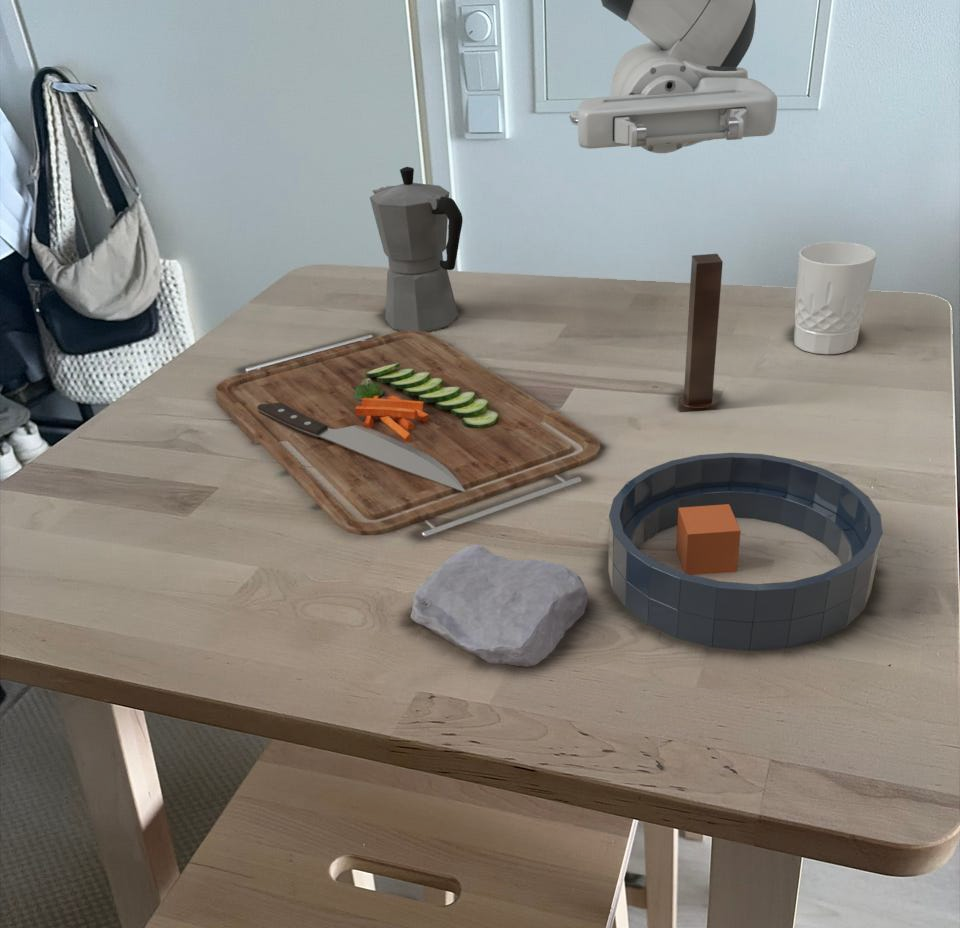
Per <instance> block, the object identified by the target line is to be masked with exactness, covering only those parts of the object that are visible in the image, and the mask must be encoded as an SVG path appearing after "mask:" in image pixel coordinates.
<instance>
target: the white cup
mask: <svg viewBox="0 0 960 928" xmlns="http://www.w3.org/2000/svg"><path fill="white" fill-rule="evenodd" d="M877 254H878V253H877V251H876V250H875V249H873V248H872V247H871V246H868V245H865V244H861V243H856V242H851V241H822V242H815V243H811V244H808V245H805V246H803V247H802V248H801V249H800V250H799V251H798V259H797V260H798V261H797V262H798V264H797V275H796V287H795V298H794V299H795V300H794V301H795V303H794V331H793V342H794V346H795V347H797V348H798V349H800V350H801V351H805V352H807V353H811V354H815V355H816V354H818V355H837V354H843V353H846V352H850V351H852V350H853V349H854V348H855V347H856V346H857V344H858V339H859V335H860V330H861V323H862V322H863V318H864V315H865V309H866V305H867V302H868V298H869V293H870V288H871V282H872V278H873V274H874V268H875V265H876V259H877Z"/></svg>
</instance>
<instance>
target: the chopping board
mask: <svg viewBox="0 0 960 928" xmlns="http://www.w3.org/2000/svg"><path fill="white" fill-rule="evenodd" d="M214 394H215V398H216V402H217V404H218V406H219V407H220V408H221V409H222V410H223V412H225V414H226V415H227V416H228V417H229V418H230V419H231V421H233V423H235V424H236V426H237V427H238V428H239V429H241V430H242V431H243V433H244V434H245V435H246V436H247V437H248V438H249V439H250V440H251V442H253V443H254V444H259V445H260V446H262V447H263V448H264V449H265V450H266V451H267V452H268V453H269V454H270V455H271V456H272V457H273V458H274V460H275V461H276V462H277V463H278V464H279V465H280V466H281V467H282V469H284V470H285V471H286V472H287V473H288V474H289V475H290V476H291V478H292V479H293V480H294V481H295V482H296V483H297V484H298V485H299V486H300V487H301V488H302V489H303V490H304V491H305V492H306V494H307V495H309V497H310V498H312V499H313V501H314V502H315V503H316V504H317V505H318V506H319V507H320V508H321V509H322V510H323V511H324V512H325V514H327V515H328V517H330V519H332V520H333V522H334V523H335V524H336V525H337V526H338V527H339V528H341V529H342V530H343V531H346V532H347V533H350V534H354V535H358V536H377V535H381V534H387V533H391V532H394V531H396V530H400V529H403V528H405V527H408V526H411V525H414V524H416V523H420V522H424V523H425V524H427V526H428V527H429V528H430V529H427V530H424V531H422V532H421V535H422V536H424V538H425V537H428V536H431V535H434V534H436V533H440V532H442V531H446V530H448V529H451V528H453V527H456V526H460V525H462V524H465V523H468V522H471V521H473V520H476V519H478V518H482V517H485V516H488V515H491V514H493V513H495V512H498V511H501V510H504V509H507V508H509V507H512V506H515V505H518V504H521V503H524V502H527V501H529V500H532V499H536V498H538V497H540V496H543V495H546V494H549V493H552V492H554V491H558V490H561V489H563V488H567V487H570V486H572V485H575V484H577V483H580V482H582V478H581V477H580V476H576V477H574V478H571V479H568V480H566V479H565V478H563V477H562V476H560V475H559V474H560V473H563V472H565V471H568V470H572V469H575V468H577V467H580V466H583V465H586V464H588V463H590V462H592V461H594V460H595V459H597V457H599V455H600V454H601V441H600V440H599V439H598V438H597V437H596V436H595V435H594V434H593V433H591V432H589V431H587V430H586V429H584V428H582V427H581V426H580V425H578V424H576V423H574V422H573V421H571V420H570V419H568V418H567V417H565V416H563V415H562V414H560V413H558V412H557V411H555V410H554V409H552V408H550V407H549V406H547V405H546V404H544V403H542V402H541V401H539V400H538V399H536V398H534V397H533V396H531V395H530V394H528V393H526V392H525V391H524V390H521V389H520V388H518V387H517V386H515V385H514V384H512V383H510V382H509V381H508V380H505V378H502V377H501V376H499V375H498V374H496V373H494V372H493V371H492V370H490V369H488V368H487V367H485V366H484V365H481V364H480V363H479V362H477V361H475V360H473V359H472V358H471V357H469V356H467V355H466V354H464V353H462V352H461V351H459V350H458V349H457V348H454V347H453V346H451V345H450V344H448V343H446V342H445V341H444V340H442V339H440V338H438V337H437V336H435V335H434V334H432V333H430V332H425V331H417V330H409V331H396V332H392V333H388V334H383V335H380V336H376V337H374V336H373V334H367V335H364V336H360V337H356V338H352V339H348V340H345V341H342V342H338V343H333V344H330V345H326V346H322V347H319V348H315V349H312V350H311V349H310V350H308V351H304V352H301V353H296V354H294V355H293V354H292V355H290V356H289V355H288V356H286V357H283V358H278V359H275V360H271V361H267V362H264V363H260V364H259V363H258V364H256V365H252V366H248V367H245V373H241V374H238V375H237V374H236V375H234V376H230V377H228V378H226V379H223V380H222V381H220V382H219V383H217V385H216V387H214ZM542 423H545V424H547V425H548V426H550V427H551V428H553V429H554V430H556V431H557V432H559V433H561V434H563V435H564V436H565V437H567V438H568V439H570V440H571V441H573V442H575V443H576V444H578V445H579V446H580V447H581V448H582V451H579V452H578V453H576V454H573V453H575V452H576V449H575V448H574V446H573V444H572V443H571V442H570V441H568V440H566V439H565V438H563V437H562V436H560V435H559V434H557V433H556V432H554V431H552V429H550V428H548V427H547V426H545V425H544V424H542ZM281 442H287V443H289V445H291V446H292V447H293V448H294V449H295V450H296V451H297V452H298V453H299V454H300V456H302V457H303V458H304V459H305V460H306V461H307V462H308V463H309V464H310V466H312V467H313V468H314V469H315V470H316V471H317V472H318V473H319V474H320V475H321V476H322V477H323V478H324V479H325V480H326V481H328V483H329V484H330V485H331V486H332V487H333V488H334V489H335V490H336V491H337V492H338V493H339V494H340V495H341V496H342V497H343V498H344V499H345V500H346V501H347V502H348V503H349V504H350V505H352V507H353V508H354V509H355V510H356V511H357V512H358V513H360V515H361V516H362V517H363V518H365V519H367V520H368V521H369V522H368V521H367V522H366V521H361V520H358V519H356V518H355V517H353V516H352V515H351V514H350V513H349V512H348V511H347V510H346V508H344V507H343V506H342V505H341V504H340V502H339V501H338V500H336V498H334V497H333V495H332V494H330V492H329V491H328V490H327V489H326V488H324V487H323V486H322V484H321V483H320V482H319V481H318V480H317V479H316V478H315V477H313V475H312V474H311V473H310V472H309V471H308V470H307V469H306V468H305V467H304V466H303V465H302V464H301V463H300V462H299V461H298V460H297V459H296V458H295V457H294V456H293V455H292V454H291V453H290V452H289V451H288V449H286V448H285V447H284V446H283V445H282V444H281ZM540 465H541V466H540ZM531 468H532V469H531ZM528 469H529V470H528ZM508 476H509V477H508ZM551 476H553V477H554V478H556V479H557V480H559V481H560V483H556V484H554V485H551V486H548V487H546V488H542V489H538V490H537V491H534V492H531V493H529V494H526V495H522V496H520V497H517V498H514V499H511V500H508V501H506V502H503V503H500V504H497V505H494V506H491V507H489V508H486V509H483V510H481V511H478V512H474V513H472V514H468V515H466V516H463V517H461V518H457V519H455V520H452V521H450V522H446V523H444V524H441V525H438V526H436V525H435V524H433V523H432V522H431V521H430V520H429V519H431V518H434V517H437V516H440V515H443V514H445V513H449V512H451V511H454V510H457V509H459V508H462V507H465V506H468V505H471V504H474V503H477V502H479V501H483V500H485V499H488V498H491V497H494V496H497V495H500V494H503V493H505V492H509V491H511V490H515V489H517V488H521V487H523V486H525V485H529V484H532V483H535V482H537V481H541V480H544V479H546V478H548V477H551ZM501 478H502V479H501ZM499 479H500V480H499ZM496 480H497V481H496ZM493 481H494V482H493ZM490 482H491V483H490ZM487 483H488V484H487ZM484 484H485V485H484ZM481 485H482V486H481ZM472 488H474V489H472ZM461 492H462V493H461ZM458 493H460V494H458ZM455 494H456V495H455ZM452 495H453V496H452ZM449 496H450V497H449ZM446 497H448V498H446ZM443 498H445V499H443ZM437 500H439V501H437ZM434 501H436V502H434ZM428 503H429V504H428ZM426 504H427V505H426ZM422 505H424V506H422ZM420 506H421V507H420ZM417 507H418V508H417ZM414 508H416V509H414ZM411 509H412V510H411ZM408 510H410V511H408ZM405 511H407V512H405ZM402 512H404V513H402ZM399 513H401V514H399ZM396 514H398V515H396ZM393 515H396V516H393ZM390 516H392V517H390ZM387 517H389V518H387ZM384 518H385V519H384ZM386 518H387V519H386ZM381 519H383V520H381ZM376 520H377V521H376ZM378 520H379V521H378Z"/></svg>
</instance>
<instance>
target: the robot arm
mask: <svg viewBox="0 0 960 928" xmlns="http://www.w3.org/2000/svg"><path fill="white" fill-rule="evenodd" d="M600 2H601V5H602V7H604V8H605V9H606V10H608V11H610V12H611V13H613V14H614V15H615V16H617V17H618V18H620V19H621V20H623V21H624V22H628V23H629V24H631V25H632V26H633V27H634V28H635V29H637V30H638V31H639V32H640V33H641V34H642V35H644V36H645V37H646V38H647V39H648V40H650V42H647V43H644V44H643V43H642V44H638V45H636V46H634V47H632V48H631V49H629V50H628V51H626V52H625V53H624V54H623V55H622V56H621V58H620V59H619V60H618V62H617V64H616V66H615V68H614V70H613V73H612V77H611V82H610V95H609V96H599V97H590V98H585V99H583V100H582V101H580V102H579V104H578V107H577V110H574V111H571V112H570V114H569V121H570V122H571V124H572V125H573V126H577V143H578V146H579V147H580V148H584V149H602V148H603V149H605V148H617V147H630V148H639V147H641V148H642V149H644V150H646V151H647V152H650V153H654V154H669V153H673V152H676V151H678V150H680V149H682V148H685V147H690V146H691V147H692V146H694V145H696V144H699V143H702V142H705V141H707V142H708V141H713V140H726V141H734V140H735V141H736V140H742V139H743V138H751V137H766V136H769V135H772V134H773V133H774V131H775V127H776V124H777V123H776V122H777V115H778V113H777V112H778V97H777V94H776V93H775V92H774V91H773V90H772V89H770V87H768V86H767V85H765V84H763V83H762V82H760V81H759V80H757V79H753V78H749V73H748V70H747V69H746V68H743V67H739V65H740V63H741V62H742V60H743V59H744V57H745V55H746V54H747V52H748V50H749V49H750V46H751V43H752V41H753V38H754V35H755V28H756V27H755V26H756V14H757V6H756V4H757V3H756V0H600Z"/></svg>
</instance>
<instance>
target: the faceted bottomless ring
mask: <svg viewBox="0 0 960 928" xmlns="http://www.w3.org/2000/svg"><path fill="white" fill-rule="evenodd" d="M724 504H729V505H730V507H731V510H732V512H733V514H734V516H735V519H749V520H750V519H751V520H758V521H763V522H768V523H773V524H778V525H782V526H784V527H788V528H790V529H792V530H796V531H799V532H801V533H804V534H805V535H807V536H809V537H811V538H812V539H814V540H816V541H817V542H818V543H821V544H822V545H824V546H825V547H826V548H827V549H828V550H829V551H830V552H832V554H834V556H836V557H837V559H838V561H839V563H840V564H841V565H838V566H837V567H835V568H832V569H830V570H828V571H826V572H824V573H821V574H817V575H813V576H809V577H805V578H800V579H797V580H792V581H781V582H767V583H765V582H764V583H748V582H747V583H746V582H734V581H733V582H732V581H720V580H716V579H711V578H707V577H703V576H698V575H690V574H685V573H684V571H681V570H678V569H676V568H673V567H671V566H668V565H666V564H663V563H661V562H658V561H657V560H655V559H654V558H652V557H651V556H649V555H648V554H646V553H645V552H643V551H642V550H641V548H642V546H643V544H645V543H646V542H648V541H649V540H650V539H652V538H653V537H654V536H657V534H659V533H661V532H663V531H666V530H668V529H671V528H673V527H675V526H676V527H677V523H678V508H682V507H696V506H710V505H724ZM882 522H883V521H882V515H881V513H880V511H879V510H878V508H877V507H876V505H875V503H874V502H873V501H872V499H871V498H870V497H869V495H867V494H866V493H865V492H863V490H861V489H860V488H859V487H857V486H856V484H854V483H852V482H851V481H850V480H848V479H846V478H844V477H842V476H840V475H838V474H836V473H834V472H832V471H830V470H829V469H826V468H823V467H820V466H818V465H817V466H816V465H814V464H810V463H807V462H805V461H800V460H797V459H794V458H787V457H783V456H782V457H780V456H775V455H770V454H764V453H748V452H722V453H706V454H697V455H692V456H687V457H682V458H678V459H673V460H670V461H669V460H668V461H666V462H664V463H661V464H659V465H656V466H653V467H650V468H648V469H646V470H644V471H642V472H641V473H640V474H638V475H636V476H635V477H633V478H632V479H630V480H629V481H627V482H626V483H624V485H623V486H622V488H621V489H620V490H619V491H618V492H617V494H616V495H615V496H614V497H613V498H612V502H611V506H610V510H609V513H608V563H607V564H608V568H607V569H608V571H607V573H608V576H609V581H610V585H611V590H612V592H613V593H614V595H616V597H617V598H618V600H619V601H620V603H621V604H622V606H623V607H624V608H625V609H626V610H627V611H628V612H629V613H631V614H632V615H634V616H635V617H636V618H637V619H639V620H640V621H642V622H643V623H644V624H646V625H647V626H649V627H651V628H653V629H656V630H658V631H660V632H662V633H665V634H666V635H668V636H670V637H673V638H675V639H678V640H682V641H684V642H690V643H693V644H698V645H701V646H705V647H710V648H714V649H715V648H716V649H725V650H737V651H738V650H739V651H748V652H749V651H752V652H753V651H767V650H781V649H782V650H783V649H790V648H794V647H798V646H801V645H805V644H810V643H813V642H817V641H820V640H823V639H824V638H826V637H828V636H831V635H832V634H835V633H837V632H839V631H841V630H842V629H845V628H846V627H847V626H849V625H850V623H852V622H853V621H854V620H855V619H856V618H858V616H859V615H860V614H861V613H862V612H863V611H864V610H865V608H866V605H867V602H868V600H869V598H870V596H871V593H872V589H873V583H874V578H875V574H876V569H877V564H878V559H879V555H880V549H881V543H882V539H883V534H884V531H883V523H882Z"/></svg>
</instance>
